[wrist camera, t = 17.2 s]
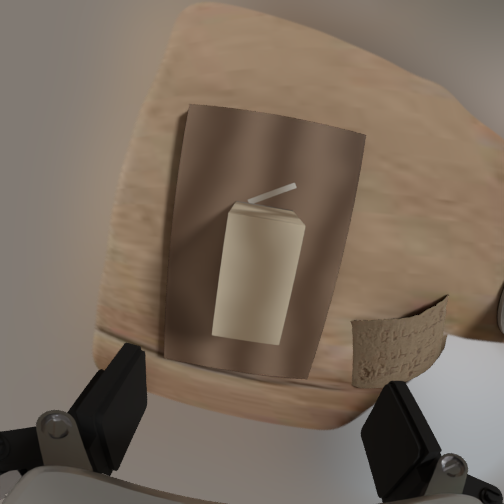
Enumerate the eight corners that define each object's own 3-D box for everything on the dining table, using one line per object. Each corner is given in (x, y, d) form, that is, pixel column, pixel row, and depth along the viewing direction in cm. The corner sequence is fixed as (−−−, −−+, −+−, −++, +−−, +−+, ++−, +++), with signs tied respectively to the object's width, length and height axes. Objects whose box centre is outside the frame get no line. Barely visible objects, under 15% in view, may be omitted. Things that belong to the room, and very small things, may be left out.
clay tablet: (449, 289, 31) (461, 297, 28) (443, 355, 33) (452, 366, 31) (340, 319, 32) (346, 331, 29) (345, 385, 34) (350, 399, 32)
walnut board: (360, 136, 26) (366, 134, 25) (305, 371, 33) (307, 379, 32) (192, 107, 26) (189, 103, 24) (167, 350, 33) (164, 357, 31)
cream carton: (292, 210, 27) (305, 225, 19) (274, 303, 29) (278, 345, 22) (236, 200, 27) (228, 212, 19) (222, 294, 29) (211, 335, 22)
